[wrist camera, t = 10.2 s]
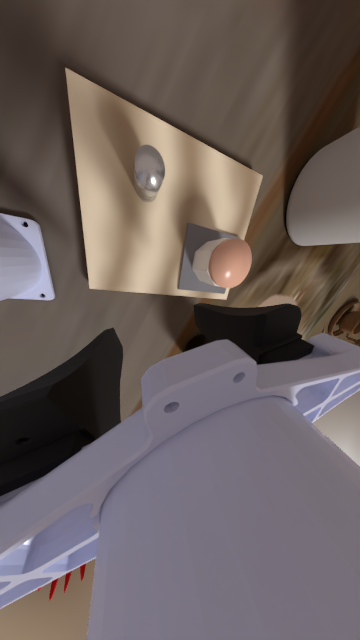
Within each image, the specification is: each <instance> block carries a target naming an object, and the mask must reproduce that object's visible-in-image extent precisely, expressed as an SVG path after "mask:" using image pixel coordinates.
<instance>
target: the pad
mask: <svg viewBox="0 0 360 640" xmlns="http://www.w3.org/2000/svg"><path fill="white" fill-rule="evenodd" d="M223 238H231V239H234V238H239V239H240V237H236V236H233V235H229V234H226V233H223V232H219V231H216V230H213V229H209V228H206V227H202V226H199V225H196V224H192V223H187V230H186V237H185V243H184V250H183V257H182V264H181V271H180V278H179V285H178V289H180V290H190V291H200V292H210V293H221V294H225V291H226V288H223V287H219V286H214V285H211V284H208V283H205V282H202V281H200V280H199V279H198V277H197V276H196V274H195V272H194V271H193V269H192V266H193V261H194V255H195V251H197V250H198V249H199V248H200V247H201V246H203V245H204V244H205V243H206V242H208V241H213V240H218V239H223Z"/></svg>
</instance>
